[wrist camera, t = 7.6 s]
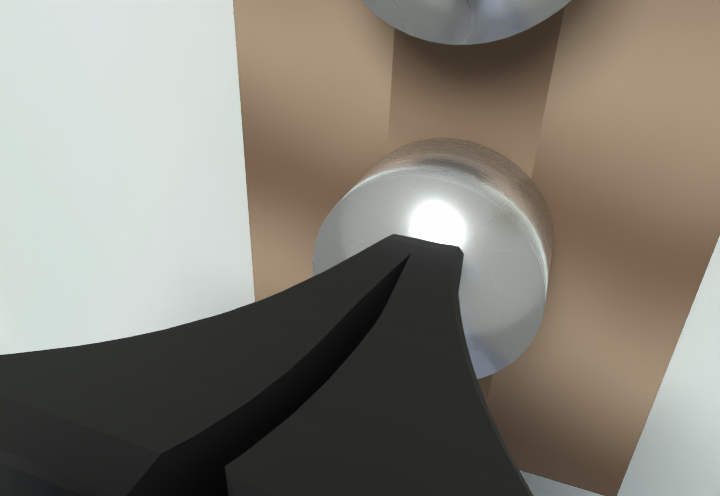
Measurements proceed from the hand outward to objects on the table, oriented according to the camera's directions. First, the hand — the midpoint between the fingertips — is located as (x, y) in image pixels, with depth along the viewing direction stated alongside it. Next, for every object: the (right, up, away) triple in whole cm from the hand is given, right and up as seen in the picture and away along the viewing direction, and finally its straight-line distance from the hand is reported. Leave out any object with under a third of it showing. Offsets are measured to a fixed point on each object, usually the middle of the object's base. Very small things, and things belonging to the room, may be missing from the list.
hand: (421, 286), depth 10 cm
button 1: (+1, +2, +3) cm, 4 cm away
